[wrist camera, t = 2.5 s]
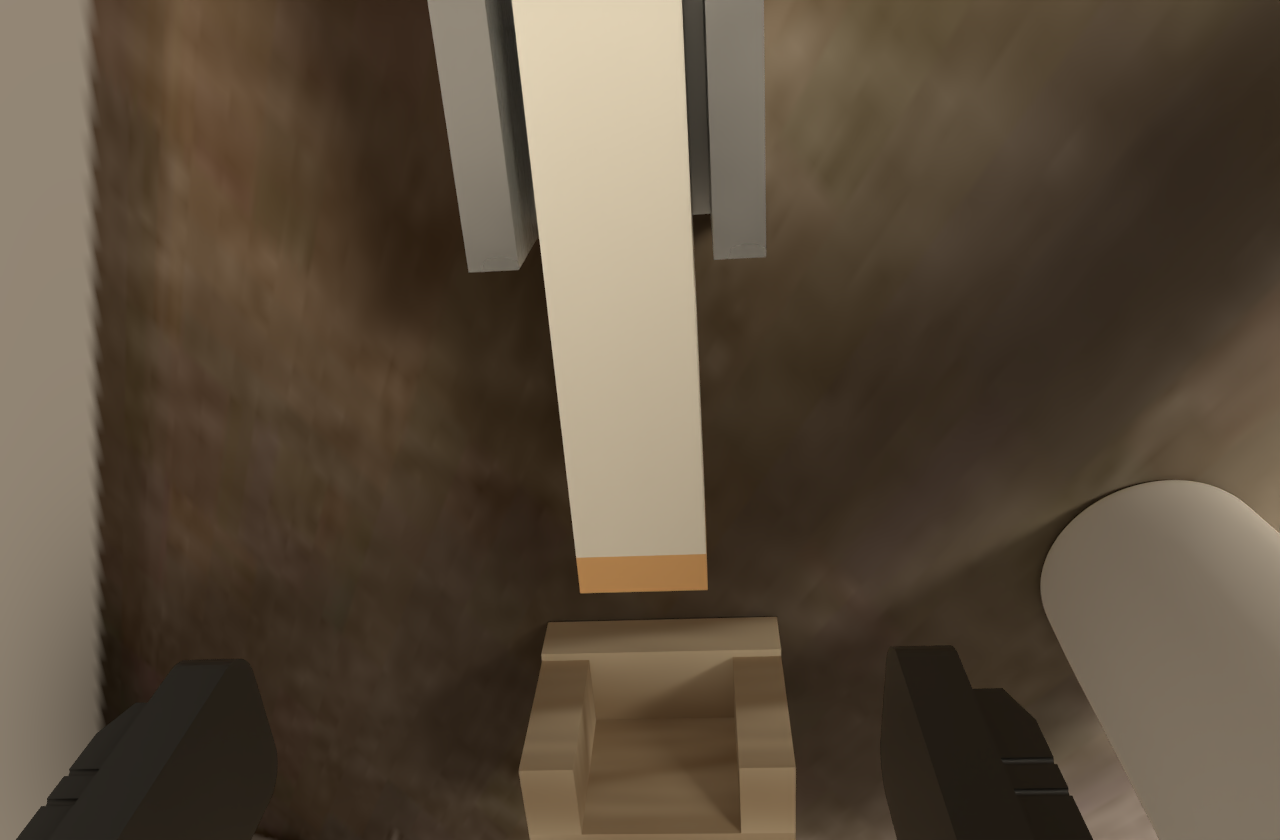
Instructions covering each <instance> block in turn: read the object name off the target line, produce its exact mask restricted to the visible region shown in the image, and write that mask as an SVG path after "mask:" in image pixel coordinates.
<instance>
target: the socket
mask: <svg viewBox="0 0 1280 840" xmlns="http://www.w3.org/2000/svg"><path fill="white" fill-rule="evenodd" d="M541 656H542V664H541V669H540V673H539V678H538V683H537V687H536V692H535V696H534V701H533V706H532V710H531V715H530V720H529V724H528V729H527V734H526V738H525V743H524V747H523V752H522V757H521V761H520V766H519V777H520V783H521V789H522V795H523V801H524V807H525V813H526V819H527V825H528V831H529V837H530V840H795V832H796V765H795V757H794V749H793V742H792V734H791V727H790V719H789V712H788V704H787V697H786V689H785V681H784V674H783V666H782V659H781V645H780V637H779V630H778V622H777V617H745V618H704V619H662V620H620V621H579V622H548V625H547V630H546V635H545V639H544V644H543V648H542V653H541Z"/></svg>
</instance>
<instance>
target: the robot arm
mask: <svg viewBox="0 0 1280 840" xmlns="http://www.w3.org/2000/svg"><path fill="white" fill-rule="evenodd" d="M880 754H881V768H882V777H883V783H884V789H885V794H886V798H887V802H888V806H889V810H890V814H891V818H892V821H893V825H894V829H895V833H896V837H897V840H1093V838H1092V836H1091V834H1090V832H1089V830H1088V828H1087V826H1086V824H1085V822H1084V820H1083V818H1082V815H1081V813H1080V811H1079V809H1078V807H1077V805H1076V803H1075V801H1074V799H1073V797H1072V796H1069V792H1068V786H1067V784H1066V782H1065V780H1064V778H1063V776H1062V774H1061V772H1060V770H1059V768H1058V765H1057V764H1054V761H1053V755H1052V753H1051V751H1050V749H1049V747H1048V745H1047V743H1046V740H1045V738H1044V736H1043V734H1042V732H1041V730H1040V728H1039V726H1038V724H1037V722H1036V720H1035V719H1034V718H1033V717H1032V716H1031V715H1030V714H1029V713H1028V712H1027V711H1026V710H1025V709H1024V708H1023V707H1022V706H1020V705H1019V704H1018V703H1017V702H1016V701H1015V700H1014V699H1013V698H1012V697H1011V696H1010V695H1009V694H1008V693H1007V692H1006V691H1005V690H1004V689H1003V688H994V689H972V687H971V685H970V682H969V680H968V677H967V675H966V673H965V670H964V668H963V665H962V663H961V660H960V658H959V656H958V654H957V651H956V650H955V648H954V647H953V646H950V645H945V646H899V647H890V648H889V649H888V653H887V659H886V671H885V685H884V698H883V712H882V725H881V740H880ZM69 770H70V773H69V776H64V777H63V778H62V780H61V781H60V782H59V784H58V785H57V786H56V788H55V789H54V790H53V792H52V793H51V794H50V796H49V797H48V798H47V805H46V806H41V808H40V809H39V810H38V811H37V813H36V814H35V815H34V817H33V818H32V819H31V821H30V822H29V823H28V825H27V826H26V827H25V828H24V830H23V831H22V832H21V834H20V835H19V836H18V838H17V839H16V840H251V839H252V837H253V835H254V833H255V831H256V829H257V826H258V824H259V822H260V820H261V818H262V816H263V814H264V812H265V810H266V808H267V806H268V804H269V802H270V799H271V797H272V794H273V791H274V787H275V783H276V777H277V751H276V746H275V743H274V739H273V736H272V733H271V729H270V726H269V723H268V719H267V716H266V713H265V709H264V706H263V703H262V699H261V696H260V693H259V689H258V686H257V683H256V679H255V676H254V673H253V670H252V668H251V666H250V664H249V663H248V662H247V661H245V660H244V659H211V660H184V661H181V662H179V663H178V664H176V665H175V666H174V667H173V669H172V670H171V671H170V672H169V674H168V675H167V677H166V678H165V679H164V681H163V682H162V683H161V685H160V686H159V688H158V689H157V690H156V692H155V693H154V695H153V696H152V697H151V699H150V700H149V701H148V703H135V704H134V705H132V706H131V707H130V708H129V709H127V710H126V711H125V712H123V713H122V714H121V715H120V716H118V717H117V718H116V719H115V720H113V721H112V722H111V723H109V724H108V725H107V726H106V727H104V728H103V729H102V730H101V731H99V732H98V733H97V734H96V735H95V736H94V738H93V739H92V740H91V742H90V743H89V744H88V746H87V747H86V748H85V749H84V751H83V752H82V753H81V755H80V756H79V757H78V759H77V760H76V761H75V763H74V764H73V765H72V767H71V768H70V769H69Z"/></svg>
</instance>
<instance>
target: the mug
mask: <svg viewBox="0 0 1280 840" xmlns="http://www.w3.org/2000/svg"><path fill="white" fill-rule="evenodd" d="M1040 589H1041V598H1042V604H1043V607H1044V610H1045V613H1046V615H1047V618H1048V620H1049V622H1050V624H1051V626H1052V628H1053V631H1054V633H1055V635H1056V637H1057V639H1058V641H1059V643H1060V645H1061V648H1062V650H1063V652H1064V654H1065V656H1066V658H1067V660H1068V662H1069V664H1070V666H1071V668H1072V670H1073V672H1074V674H1075V676H1076V678H1077V680H1078V682H1079V684H1080V685H1081V687H1082V689H1083V691H1084V693H1085V695H1086V697H1087V699H1088V701H1089V703H1090V705H1091V707H1092V709H1093V710H1094V712H1095V714H1096V716H1097V718H1098V720H1099V722H1100V724H1101V726H1102V728H1103V730H1104V732H1105V734H1106V736H1107V738H1108V740H1109V742H1110V743H1111V745H1112V747H1113V749H1114V751H1115V753H1116V755H1117V757H1118V759H1119V761H1120V763H1121V765H1122V767H1123V769H1124V771H1125V773H1126V775H1127V777H1128V779H1129V781H1130V783H1131V785H1132V787H1133V789H1134V791H1135V793H1136V795H1137V797H1138V798H1139V800H1140V802H1141V804H1142V806H1143V808H1144V810H1145V812H1146V814H1147V816H1148V818H1149V820H1150V822H1151V824H1152V826H1153V828H1154V830H1155V832H1156V834H1157V836H1158V838H1159V840H1280V533H1279V532H1277V531H1276V530H1275V529H1274V528H1273V527H1272V526H1270V525H1269V524H1268V523H1267V522H1266V521H1265V520H1264V519H1262V518H1261V517H1260V516H1259V515H1258V514H1257V513H1256V512H1254V511H1253V510H1252V509H1251V508H1250V507H1249V506H1248V505H1246V504H1245V503H1244V502H1242V501H1241V500H1240V499H1238V498H1237V497H1235V496H1234V495H1232V494H1230V493H1228V492H1226V491H1224V490H1222V489H1220V488H1217V487H1215V486H1212V485H1208V484H1204V483H1200V482H1195V481H1187V480H1163V481H1154V482H1148V483H1143V484H1139V485H1135V486H1132V487H1128V488H1125V489H1123V490H1120V491H1117V492H1115V493H1113V494H1111V495H1108V496H1106V497H1104V498H1103V499H1101V500H1099V501H1097V502H1096V503H1094V504H1092V505H1091V506H1089V507H1088V508H1087V509H1085V510H1084V511H1083V512H1081V513H1080V514H1079V515H1078V516H1077V517H1075V518H1074V519H1073V520H1072V521H1071V522H1070V523H1069V524H1068V525H1067V526H1066V527H1065V529H1064V530H1063V531H1062V532H1061V533H1060V535H1059V536H1058V537H1057V539H1056V540H1055V542H1054V543H1053V545H1052V547H1051V549H1050V550H1049V553H1048V555H1047V557H1046V560H1045V562H1044V566H1043V569H1042V574H1041V584H1040Z"/></svg>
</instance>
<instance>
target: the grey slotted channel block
mask: <svg viewBox="0 0 1280 840" xmlns="http://www.w3.org/2000/svg"><path fill="white" fill-rule="evenodd" d="M427 1H428V8H429V14H430V21H431V27H432V34H433V41H434V47H435V54H436V61H437V67H438V74H439V80H440V87H441V94H442V100H443V107H444V113H445V120H446V127H447V133H448V140H449V146H450V153H451V160H452V166H453V173H454V180H455V186H456V193H457V199H458V206H459V213H460V219H461V226H462V232H463V239H464V246H465V252H466V259H467V266H468V272H469V273H470V272H489V271H508V270H519V269H520V267H521V265H522V264H523V262H524V260H525V258H526V257H527V255H528V253H529V252H530V250H531V248H532V246H533V245H534V243H535V241H536V239H537V238H538V236H539V232H538V224H537V215H536V206H535V198H534V189H533V180H532V172H531V163H530V154H529V146H528V137H527V128H526V120H525V111H524V103H523V94H522V85H521V77H520V68H519V59H518V51H517V42H516V33H515V25H514V16H513V7H512V0H427ZM683 7H684V30H685V53H686V76H687V99H688V122H689V145H690V168H691V190H692V214H693V215H695V214H710V218H711V230H712V243H713V255H714V260H719V259H738V258H757V257H766V182H765V77H764V0H683Z"/></svg>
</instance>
